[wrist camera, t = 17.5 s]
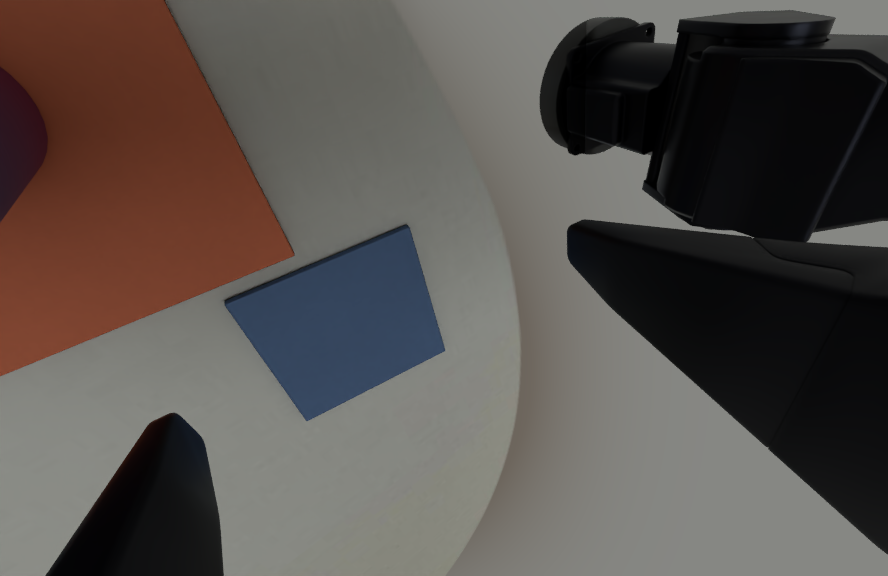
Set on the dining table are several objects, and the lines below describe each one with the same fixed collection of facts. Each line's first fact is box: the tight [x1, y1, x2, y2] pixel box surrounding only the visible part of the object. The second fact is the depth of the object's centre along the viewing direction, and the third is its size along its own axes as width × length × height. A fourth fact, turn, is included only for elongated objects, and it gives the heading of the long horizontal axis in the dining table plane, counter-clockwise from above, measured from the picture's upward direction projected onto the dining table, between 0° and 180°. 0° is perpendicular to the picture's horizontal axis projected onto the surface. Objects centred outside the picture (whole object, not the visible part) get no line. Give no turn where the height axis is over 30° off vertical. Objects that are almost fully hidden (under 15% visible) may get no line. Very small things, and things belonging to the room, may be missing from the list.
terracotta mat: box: [0, 0, 294, 376], centre depth 15 cm, size 16×13×1 cm
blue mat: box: [225, 225, 445, 421], centre depth 24 cm, size 10×10×1 cm
